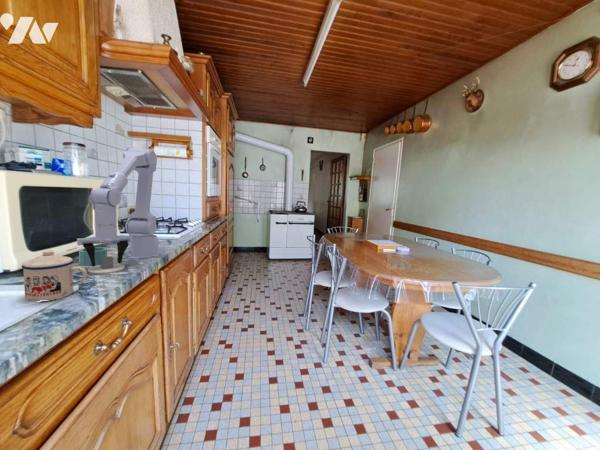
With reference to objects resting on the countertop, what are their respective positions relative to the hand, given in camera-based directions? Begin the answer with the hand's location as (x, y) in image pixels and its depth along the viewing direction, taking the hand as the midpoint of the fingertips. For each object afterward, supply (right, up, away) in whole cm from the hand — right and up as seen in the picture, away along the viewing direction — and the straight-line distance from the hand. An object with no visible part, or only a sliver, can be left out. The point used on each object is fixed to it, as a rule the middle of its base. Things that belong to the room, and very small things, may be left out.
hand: (106, 264), depth 84 cm
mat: (0, -2, 0) cm, 2 cm away
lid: (0, -2, 0) cm, 2 cm away
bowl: (-10, -1, +6) cm, 11 cm away
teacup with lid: (+4, -5, -21) cm, 22 cm away
